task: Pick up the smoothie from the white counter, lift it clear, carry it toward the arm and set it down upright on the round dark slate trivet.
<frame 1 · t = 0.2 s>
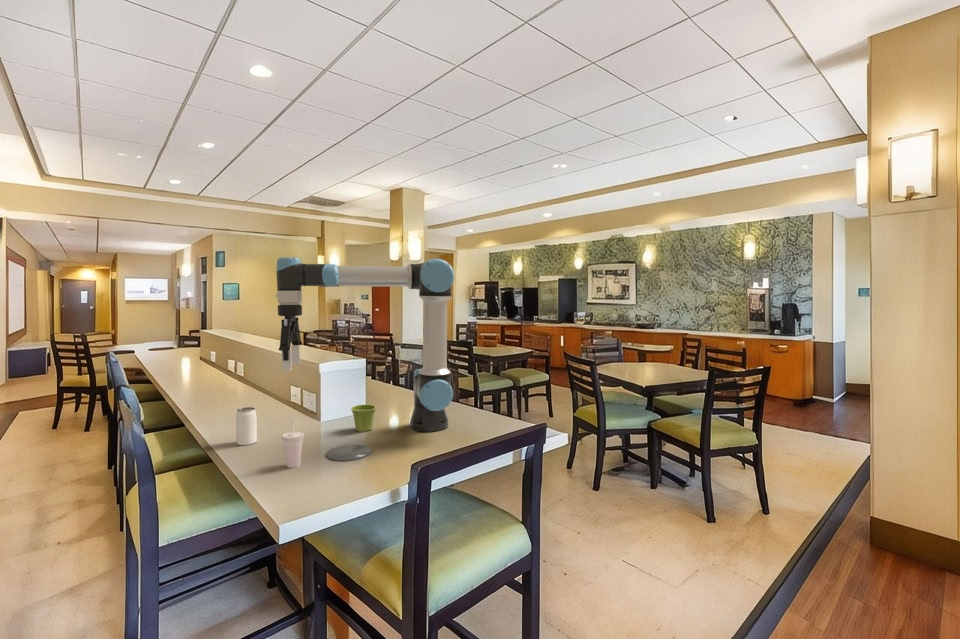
hand: (291, 367, 156), 28 cm above the table, fingers open, 13 cm apart
can: (247, 443, 163), on the table
trivet: (348, 453, 152), on the table
plant pot: (364, 430, 179), on the table
smoothie: (293, 466, 141), on the table
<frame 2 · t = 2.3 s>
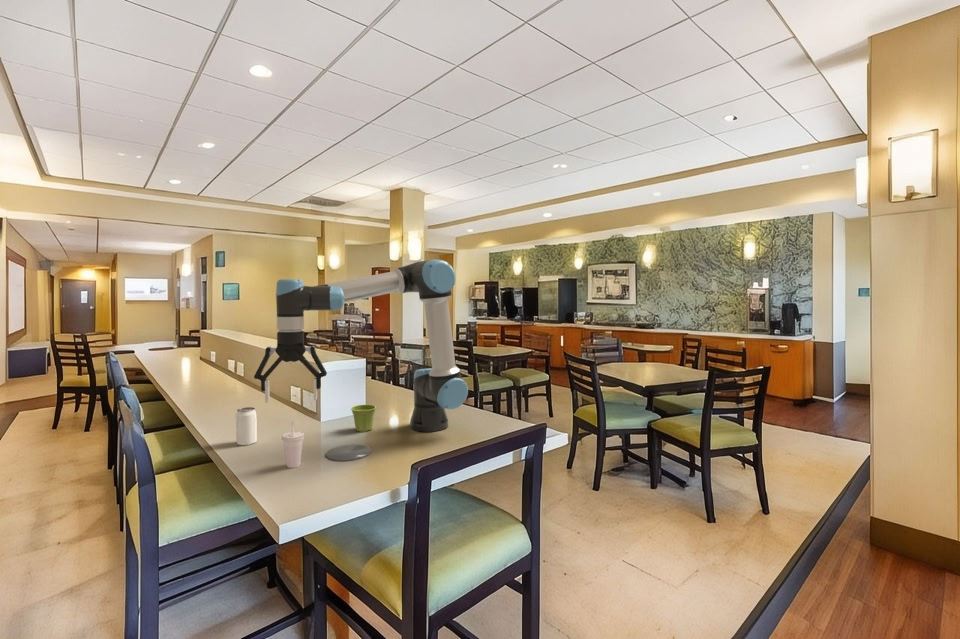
hand: (291, 400, 140), 20 cm above the table, fingers open, 13 cm apart
nothing on the table moved.
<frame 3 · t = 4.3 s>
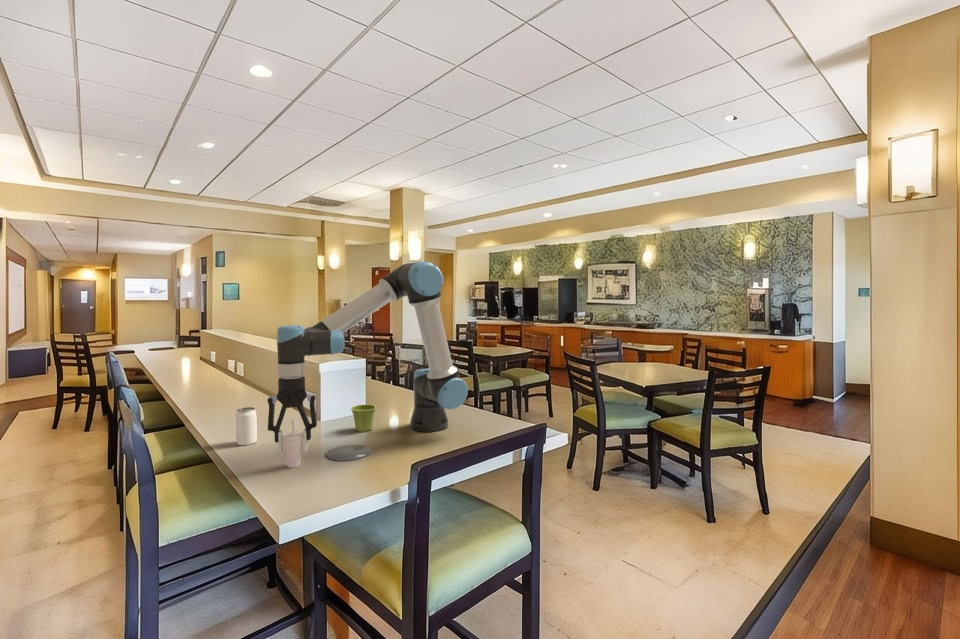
hand: (293, 451, 141), 4 cm above the table, fingers closed on smoothie, 6 cm apart
smoothie: (293, 466, 141), on the table, touching gripper
everything else where it was.
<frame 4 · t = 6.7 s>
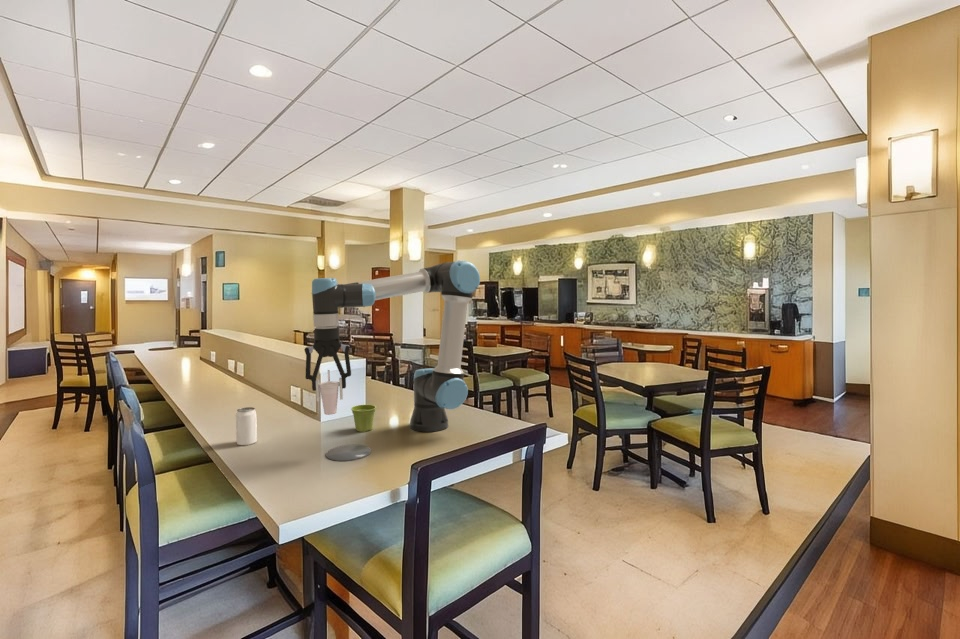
hand: (329, 399, 147), 19 cm above the table, fingers closed on smoothie, 6 cm apart
smoothie: (330, 413, 148), point 14 cm above the table, touching gripper
everything else where it was.
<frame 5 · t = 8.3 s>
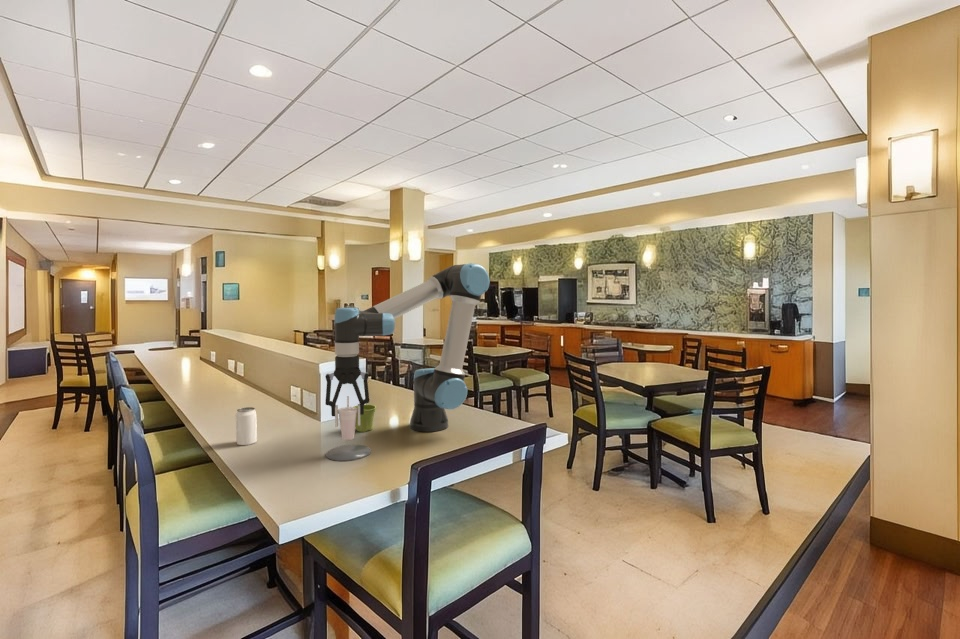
hand: (348, 425, 152), 10 cm above the table, fingers closed on smoothie, 6 cm apart
smoothie: (348, 438, 152), point 5 cm above the table, touching gripper
everything else where it was.
when the fingers open (6 cm above the table, at t = 9.4 s): smoothie drops 1 cm, resting on trivet.
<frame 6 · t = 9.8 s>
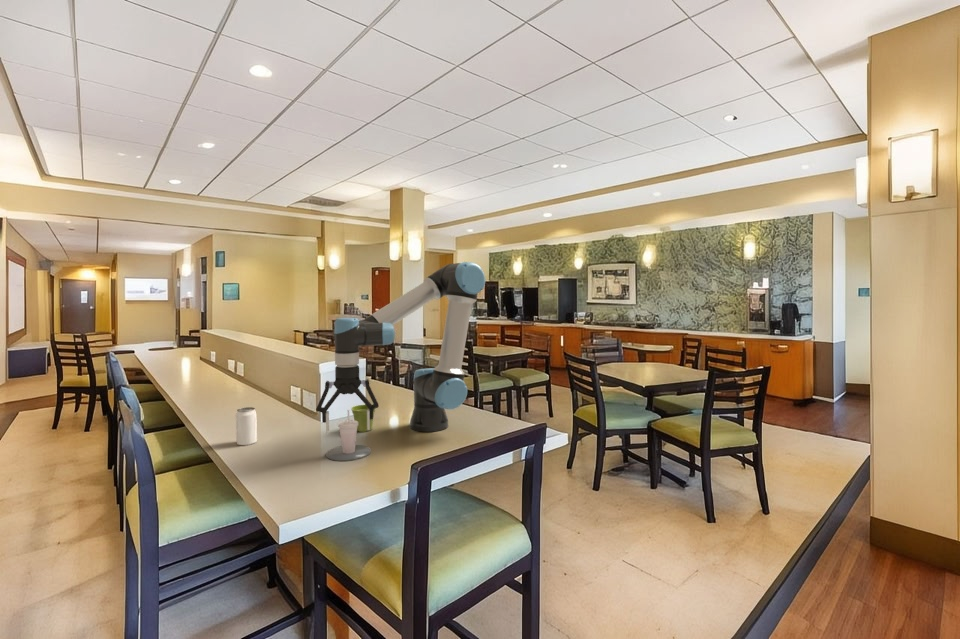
hand: (348, 430, 152), 8 cm above the table, fingers open, 12 cm apart
smoothie: (348, 452, 152), resting on trivet
everything else where it was.
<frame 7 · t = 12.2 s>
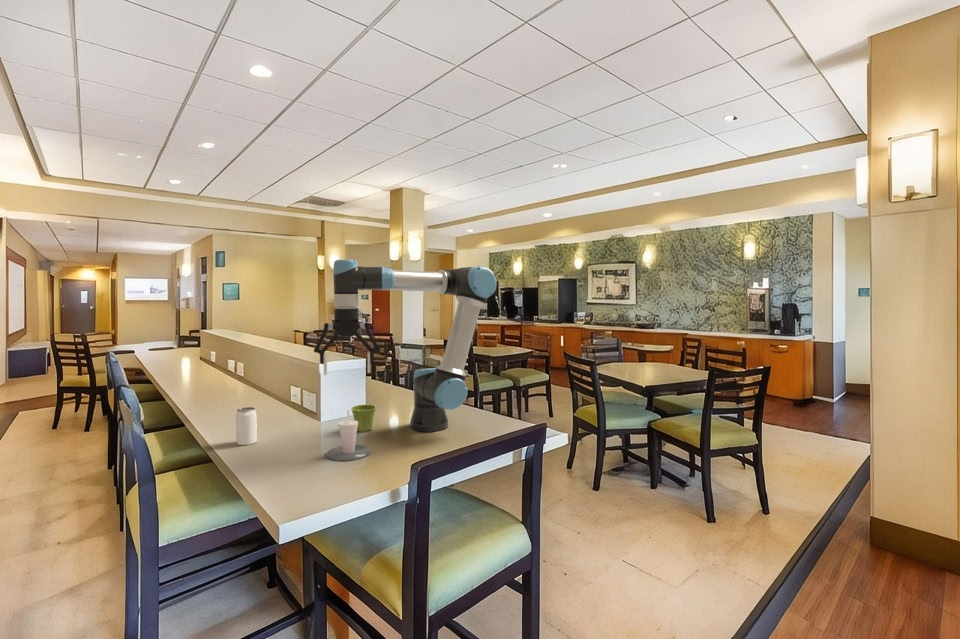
hand: (347, 373, 151), 27 cm above the table, fingers open, 13 cm apart
nothing on the table moved.
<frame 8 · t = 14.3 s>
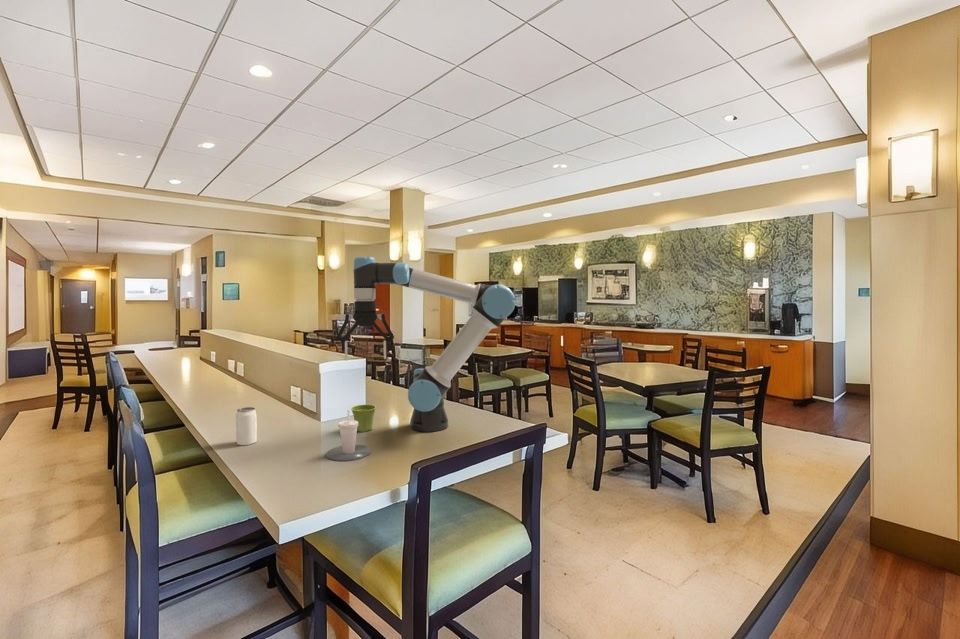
hand: (365, 359, 167), 29 cm above the table, fingers open, 13 cm apart
nothing on the table moved.
at the end: smoothie 0.0 cm from the trivet (horizontally); smoothie tilted 0°; the gripper is holding nothing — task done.
